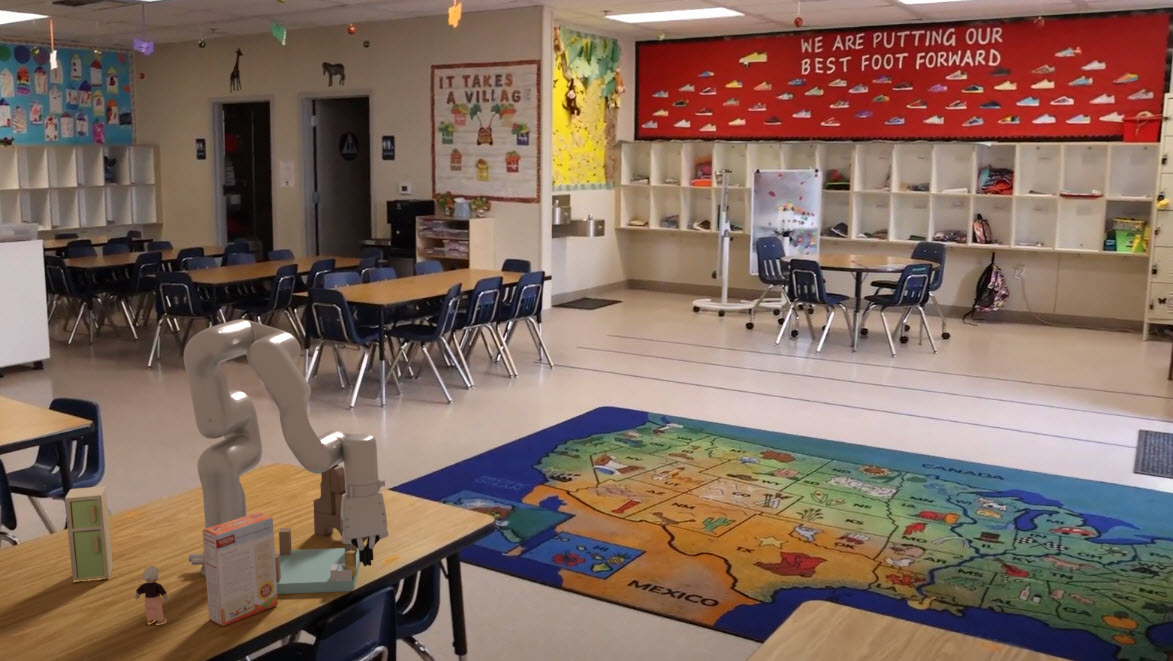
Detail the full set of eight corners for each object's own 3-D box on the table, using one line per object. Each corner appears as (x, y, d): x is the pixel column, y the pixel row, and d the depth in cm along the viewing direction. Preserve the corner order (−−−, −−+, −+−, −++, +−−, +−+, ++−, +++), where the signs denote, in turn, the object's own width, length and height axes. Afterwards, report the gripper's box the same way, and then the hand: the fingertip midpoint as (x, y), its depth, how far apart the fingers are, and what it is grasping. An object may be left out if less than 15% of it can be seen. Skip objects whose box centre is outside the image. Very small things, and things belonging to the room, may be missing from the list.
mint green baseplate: (264, 594, 242) (262, 559, 240) (279, 560, 261) (277, 527, 260) (353, 590, 244) (352, 556, 242) (361, 557, 263) (360, 524, 262)
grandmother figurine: (175, 618, 229) (171, 563, 227) (169, 626, 226) (165, 570, 223) (139, 618, 229) (135, 563, 227) (132, 626, 225) (128, 570, 223)
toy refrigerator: (71, 585, 246) (63, 498, 242) (77, 572, 253) (70, 488, 249) (108, 581, 248) (101, 495, 244) (113, 569, 255) (106, 485, 251)
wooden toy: (370, 536, 277) (367, 444, 272) (352, 544, 271) (349, 450, 267) (328, 524, 285) (324, 435, 281) (309, 532, 280) (305, 441, 275)
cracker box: (263, 598, 240) (259, 510, 236) (278, 606, 236) (274, 516, 232) (206, 619, 229) (201, 527, 225) (222, 627, 225) (216, 534, 221)
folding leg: (343, 562, 252) (342, 540, 251) (353, 561, 253) (352, 539, 252) (346, 577, 244) (345, 555, 243) (357, 576, 245) (356, 554, 244)
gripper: (391, 479, 249) (395, 553, 252) (326, 488, 243) (331, 563, 247) (398, 488, 242) (402, 564, 245) (331, 497, 237) (336, 575, 240)
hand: (366, 563), depth 246 cm, fingers closed
